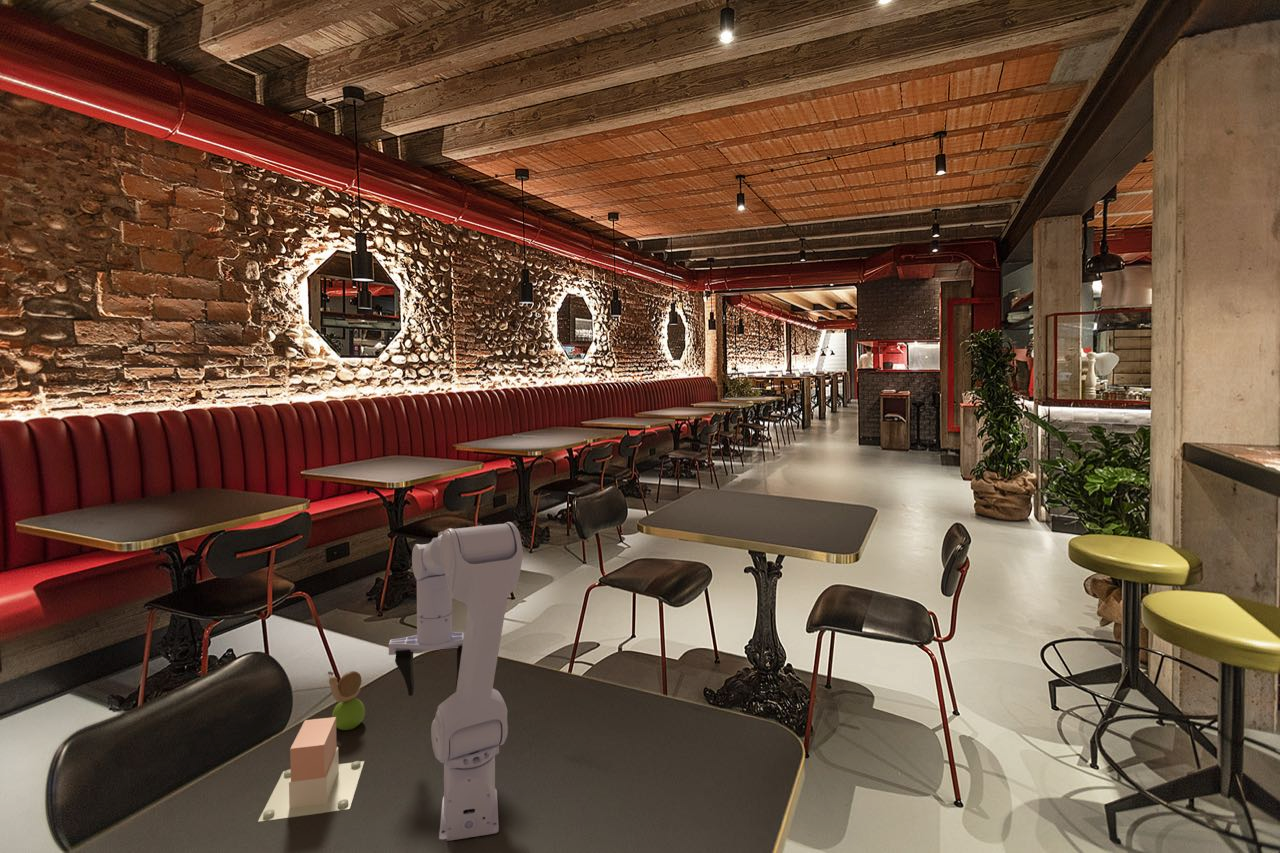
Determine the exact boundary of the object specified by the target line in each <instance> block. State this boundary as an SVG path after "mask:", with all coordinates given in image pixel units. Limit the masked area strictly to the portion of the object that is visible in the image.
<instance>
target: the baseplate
mask: <svg viewBox="0 0 1280 853" xmlns="http://www.w3.org/2000/svg"><path fill="white" fill-rule="evenodd" d="M364 764H365V760H362V761H360V760H355V761H353V762H347V763H339V772H338V774H337V777H336V780H335V783H334V785H333V788H332V791H331V793H330V796H329V799H328V802H327V804H320V805H312V806H305V807H298V808H291V809H289V781H290V779H291V768H289V769H287V770H283V771H282V772H281V775H280V777H279V780H278V781H277V783H276V785H275V787H274V789H273V791H272V792H271V795H270V797H269V799H268V801H267V802H266V805H265V806H264V809H263V811H262V812H261V814H260V816H259V818H258V821H257V823H262V822H267V821H276V820H281V819H282V820H283V819H289V818H297V817H304V816H310V815H317V814H323V813H324V814H325V813H332V812H339V811H345V810H347V811H348V810H350V808H351V807H352V802H353V801H354V800H353V799H354V796H355V793H356V790H357V787H358V783H359V781H360V780H359V779H360V777H361V773H362V770H363V767H364Z"/></svg>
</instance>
